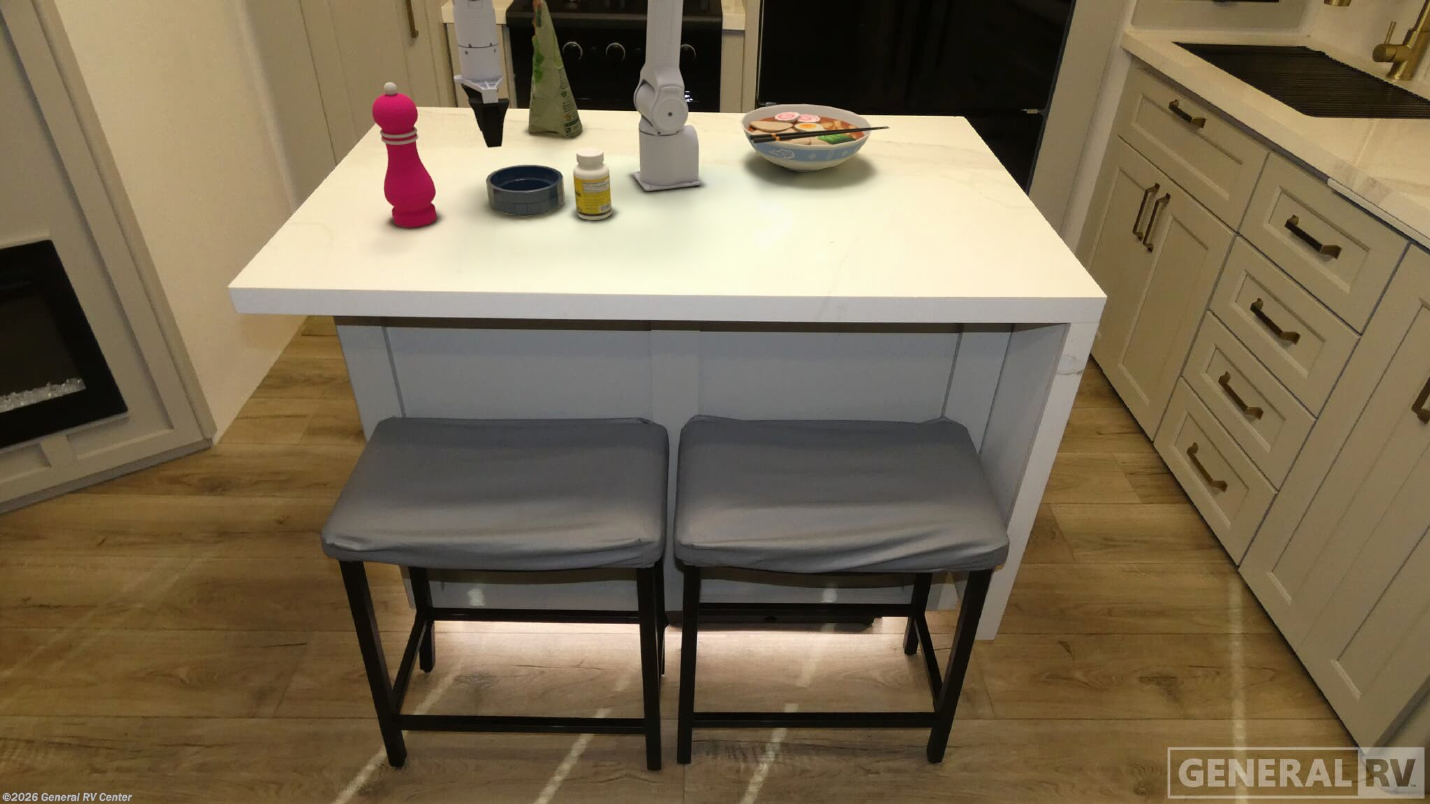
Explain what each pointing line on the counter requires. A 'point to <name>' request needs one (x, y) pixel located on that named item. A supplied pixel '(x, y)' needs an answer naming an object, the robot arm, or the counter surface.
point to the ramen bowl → (806, 135)
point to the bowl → (525, 189)
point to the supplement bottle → (592, 184)
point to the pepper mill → (404, 160)
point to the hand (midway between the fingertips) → (490, 138)
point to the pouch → (550, 81)
